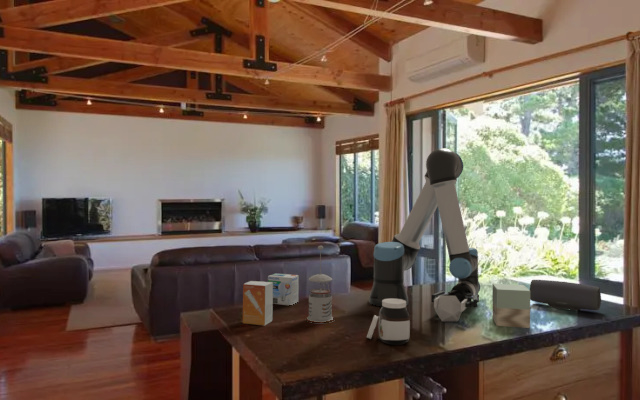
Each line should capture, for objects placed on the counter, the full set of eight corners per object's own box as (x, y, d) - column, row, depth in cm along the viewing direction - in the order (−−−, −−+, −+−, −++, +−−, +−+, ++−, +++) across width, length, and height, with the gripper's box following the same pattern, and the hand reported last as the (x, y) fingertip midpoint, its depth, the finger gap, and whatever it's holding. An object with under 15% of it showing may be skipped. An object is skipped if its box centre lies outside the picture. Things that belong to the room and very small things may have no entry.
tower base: (496, 326, 149) (496, 307, 149) (492, 318, 159) (492, 301, 159) (529, 328, 147) (530, 309, 147) (523, 320, 156) (523, 302, 156)
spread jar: (413, 346, 128) (413, 304, 128) (374, 348, 126) (375, 306, 125) (397, 333, 140) (397, 295, 140) (361, 335, 137) (362, 296, 137)
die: (457, 327, 148) (471, 300, 151) (432, 312, 150) (446, 286, 153) (451, 329, 156) (464, 304, 159) (427, 315, 158) (440, 290, 161)
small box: (242, 323, 149) (242, 283, 149) (250, 318, 155) (251, 280, 155) (265, 326, 146) (265, 285, 146) (273, 321, 153) (273, 281, 152)
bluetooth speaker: (601, 311, 169) (601, 284, 169) (596, 316, 162) (596, 287, 162) (536, 301, 184) (536, 276, 184) (528, 305, 177) (528, 279, 177)
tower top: (497, 307, 149) (497, 289, 149) (492, 301, 159) (492, 283, 159) (530, 309, 147) (530, 290, 147) (523, 302, 156) (523, 285, 156)
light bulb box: (266, 303, 178) (267, 275, 178) (274, 299, 184) (275, 273, 184) (291, 306, 174) (291, 277, 174) (299, 302, 180) (299, 274, 180)
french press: (301, 321, 152) (301, 246, 152) (313, 313, 163) (314, 243, 163) (329, 324, 149) (329, 247, 149) (340, 315, 160) (340, 244, 159)
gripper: (492, 306, 165) (481, 321, 145) (435, 299, 175) (417, 312, 155) (492, 285, 165) (481, 297, 145) (435, 280, 175) (417, 290, 155)
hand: (448, 305), depth 150 cm, fingers closed on die, 8 cm apart
